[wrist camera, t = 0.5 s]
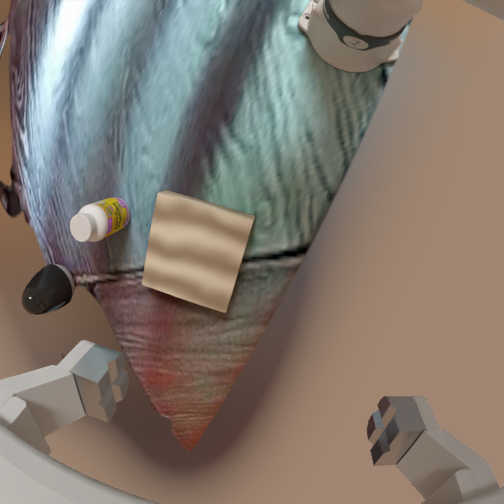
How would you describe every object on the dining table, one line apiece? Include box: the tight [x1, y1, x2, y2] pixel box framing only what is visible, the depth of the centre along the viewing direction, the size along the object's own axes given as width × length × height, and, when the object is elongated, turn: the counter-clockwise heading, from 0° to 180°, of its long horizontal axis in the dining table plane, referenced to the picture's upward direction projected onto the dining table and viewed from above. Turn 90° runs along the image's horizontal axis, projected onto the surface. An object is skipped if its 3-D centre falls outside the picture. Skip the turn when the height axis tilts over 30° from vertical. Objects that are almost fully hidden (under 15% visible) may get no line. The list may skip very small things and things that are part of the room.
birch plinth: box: [142, 190, 255, 313], centre depth 54 cm, size 18×17×4 cm
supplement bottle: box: [70, 197, 130, 242], centre depth 49 cm, size 7×7×13 cm
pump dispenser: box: [22, 264, 75, 315], centre depth 55 cm, size 10×10×15 cm
